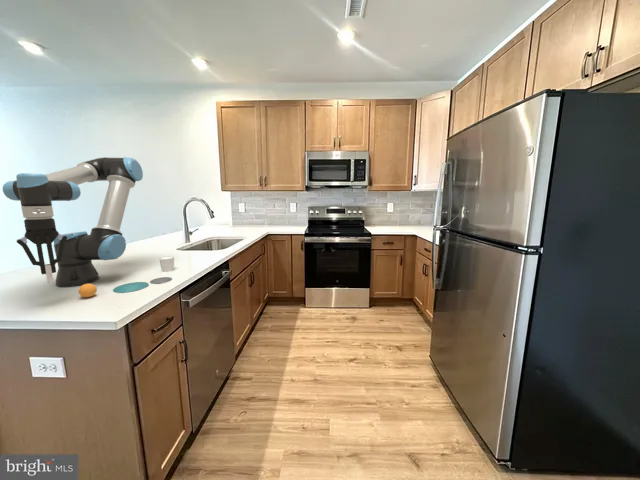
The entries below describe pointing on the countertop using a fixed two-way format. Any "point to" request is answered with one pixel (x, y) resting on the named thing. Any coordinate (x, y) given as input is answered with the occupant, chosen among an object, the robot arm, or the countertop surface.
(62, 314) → the countertop surface
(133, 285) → the disc
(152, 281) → the disc
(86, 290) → the ball
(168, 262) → the shot glass
